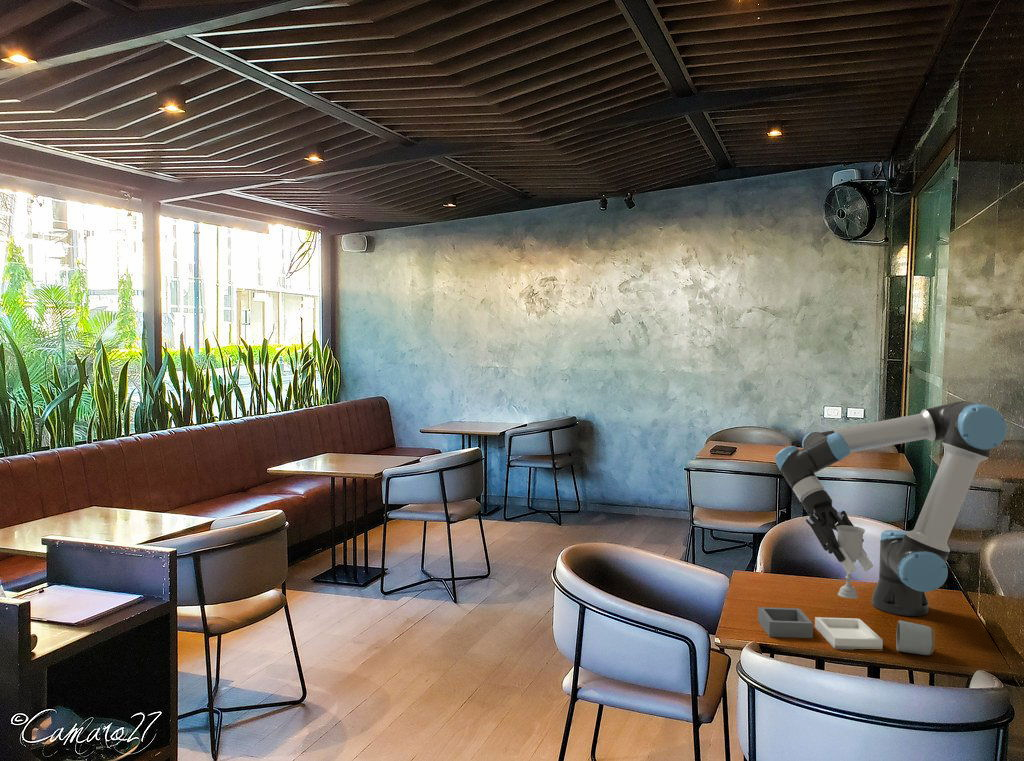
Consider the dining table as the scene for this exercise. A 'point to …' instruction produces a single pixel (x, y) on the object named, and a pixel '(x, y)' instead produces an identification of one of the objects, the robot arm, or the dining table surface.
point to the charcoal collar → (785, 622)
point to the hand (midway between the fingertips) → (860, 570)
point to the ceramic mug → (914, 638)
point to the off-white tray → (848, 633)
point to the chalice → (850, 553)
